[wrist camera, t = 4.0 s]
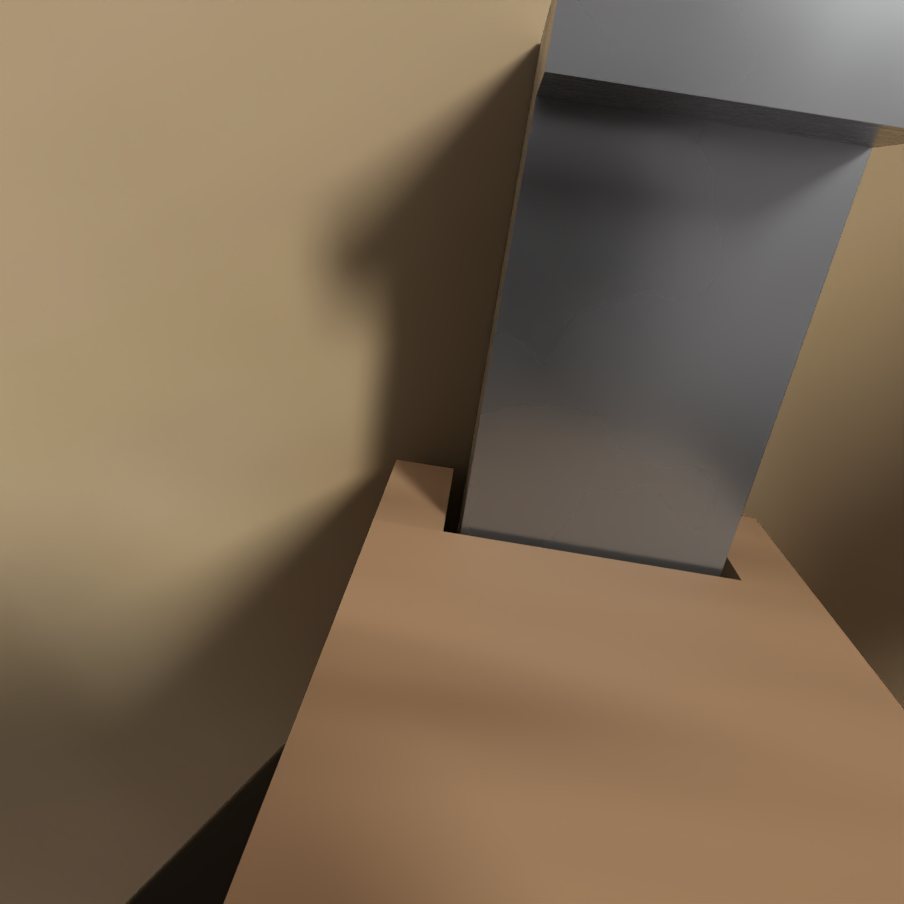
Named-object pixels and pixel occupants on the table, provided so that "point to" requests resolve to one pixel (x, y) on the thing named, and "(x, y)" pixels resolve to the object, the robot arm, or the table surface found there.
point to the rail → (669, 263)
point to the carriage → (578, 733)
